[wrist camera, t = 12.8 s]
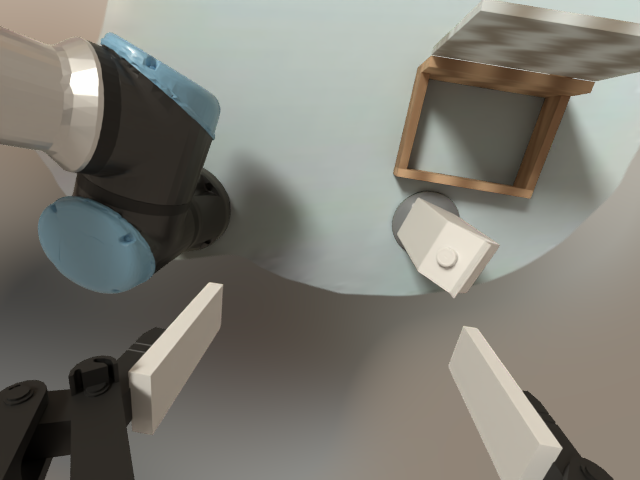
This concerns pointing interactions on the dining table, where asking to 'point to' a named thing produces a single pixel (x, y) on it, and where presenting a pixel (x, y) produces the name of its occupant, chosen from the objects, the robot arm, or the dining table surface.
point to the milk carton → (445, 247)
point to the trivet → (409, 202)
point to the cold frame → (522, 73)
